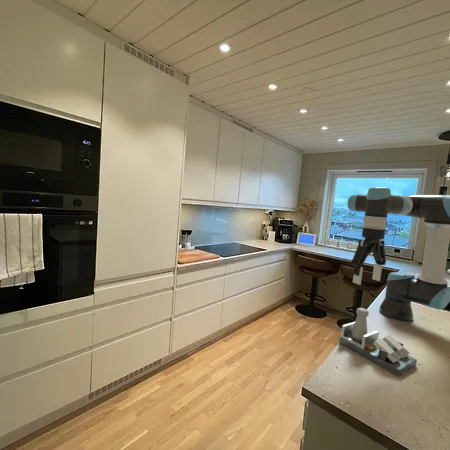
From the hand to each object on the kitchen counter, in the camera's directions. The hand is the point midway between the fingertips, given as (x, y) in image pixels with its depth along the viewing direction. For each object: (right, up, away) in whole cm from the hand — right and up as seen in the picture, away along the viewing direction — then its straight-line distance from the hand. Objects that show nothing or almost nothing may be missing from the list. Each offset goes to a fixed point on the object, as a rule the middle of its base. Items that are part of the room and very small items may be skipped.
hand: (366, 281), depth 99 cm
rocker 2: (+8, -23, -5) cm, 25 cm away
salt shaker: (-2, -24, +2) cm, 24 cm away
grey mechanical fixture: (+2, -27, -2) cm, 27 cm away
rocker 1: (+3, -23, -8) cm, 24 cm away
